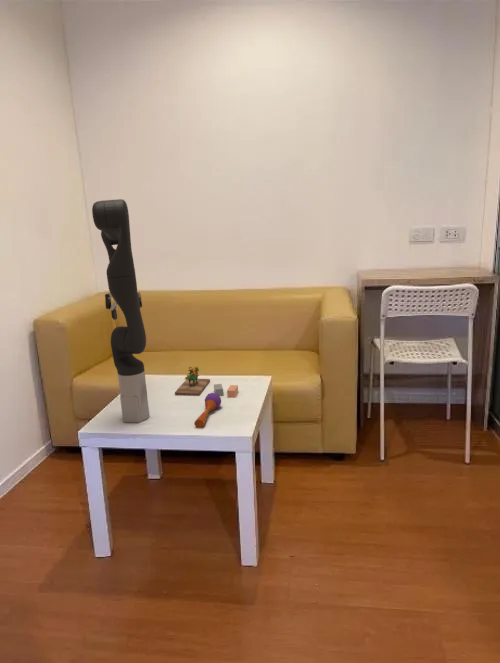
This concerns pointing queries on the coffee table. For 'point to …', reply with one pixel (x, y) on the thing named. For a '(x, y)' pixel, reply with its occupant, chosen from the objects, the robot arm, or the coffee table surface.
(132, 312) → the robot arm
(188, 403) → the coffee table surface
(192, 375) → the figurine
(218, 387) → the slate-grey brick
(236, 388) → the terracotta brick
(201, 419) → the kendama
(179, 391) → the walnut board
